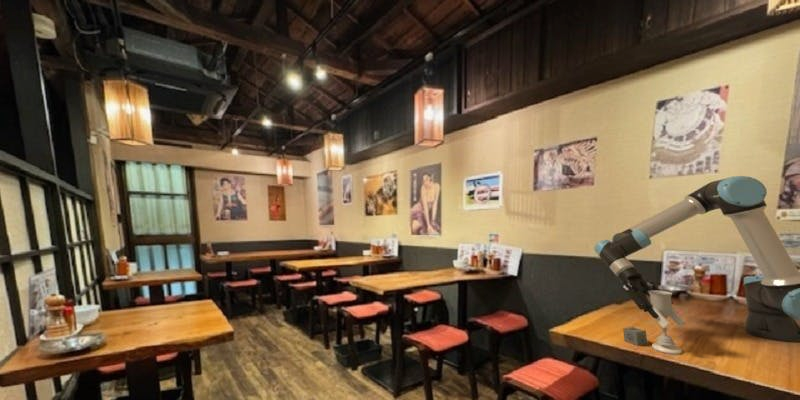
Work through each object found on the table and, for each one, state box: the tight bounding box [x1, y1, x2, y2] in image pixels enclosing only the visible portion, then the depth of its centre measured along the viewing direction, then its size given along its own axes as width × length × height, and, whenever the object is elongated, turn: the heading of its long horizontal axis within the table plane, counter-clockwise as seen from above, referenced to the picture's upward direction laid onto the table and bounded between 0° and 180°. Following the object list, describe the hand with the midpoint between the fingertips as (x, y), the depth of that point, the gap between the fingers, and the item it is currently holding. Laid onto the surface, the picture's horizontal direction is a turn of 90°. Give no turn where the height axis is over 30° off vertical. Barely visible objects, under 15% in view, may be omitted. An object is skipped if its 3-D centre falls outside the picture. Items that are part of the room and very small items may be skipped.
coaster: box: [651, 342, 683, 356], centre depth 107 cm, size 8×8×1 cm
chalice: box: [648, 290, 676, 346], centre depth 108 cm, size 7×7×18 cm
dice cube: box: [622, 326, 648, 347], centre depth 115 cm, size 5×5×5 cm
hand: (674, 324), depth 104 cm, fingers closed on chalice, 6 cm apart
